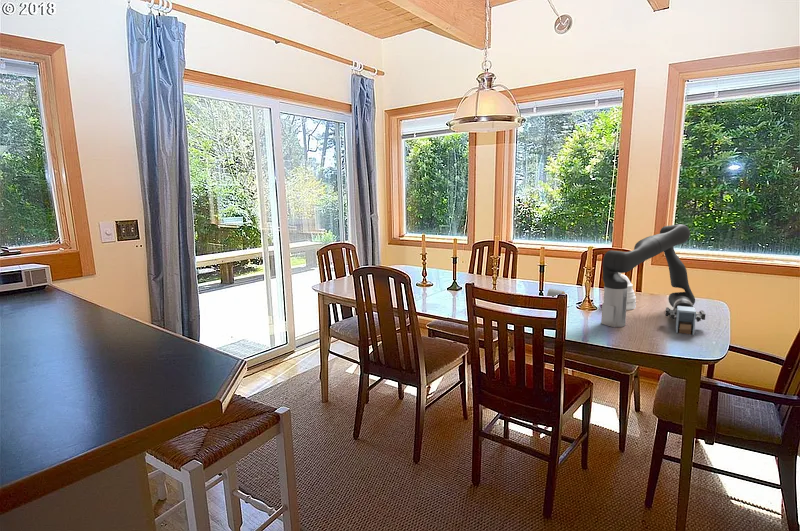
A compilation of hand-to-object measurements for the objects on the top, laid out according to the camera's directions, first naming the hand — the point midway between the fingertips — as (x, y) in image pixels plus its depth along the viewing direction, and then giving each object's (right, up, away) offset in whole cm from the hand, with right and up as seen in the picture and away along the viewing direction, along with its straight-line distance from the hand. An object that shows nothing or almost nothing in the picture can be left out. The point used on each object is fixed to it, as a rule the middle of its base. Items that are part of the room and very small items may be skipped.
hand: (685, 318), depth 177 cm
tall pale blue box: (+1, -6, +2) cm, 6 cm away
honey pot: (-5, +1, +41) cm, 42 cm away
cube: (0, -6, +1) cm, 6 cm away
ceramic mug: (-34, +2, +54) cm, 64 cm away
